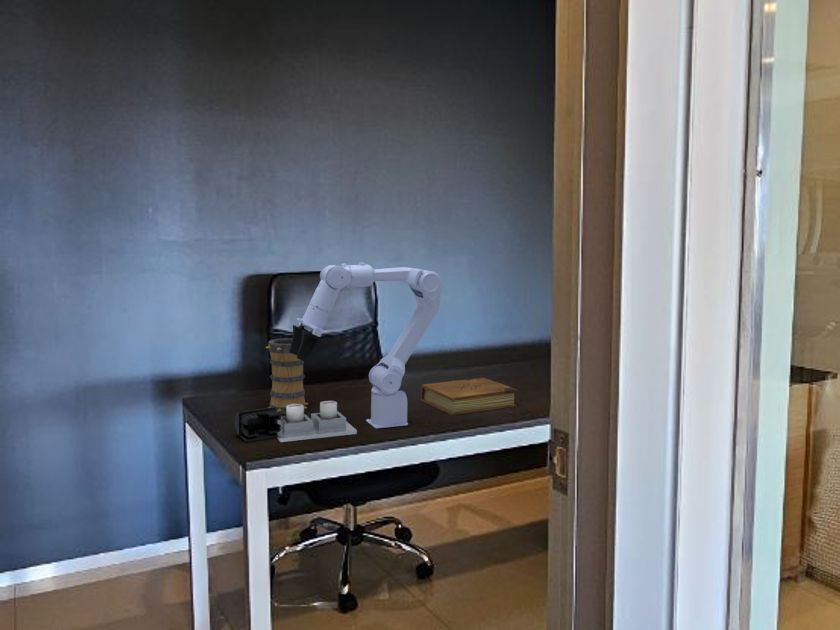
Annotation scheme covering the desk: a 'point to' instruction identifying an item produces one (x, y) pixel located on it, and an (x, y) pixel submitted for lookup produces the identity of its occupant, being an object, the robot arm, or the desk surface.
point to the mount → (314, 428)
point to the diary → (468, 395)
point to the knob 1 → (294, 413)
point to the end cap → (257, 424)
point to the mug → (285, 376)
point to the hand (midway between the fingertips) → (296, 356)
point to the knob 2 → (328, 409)
